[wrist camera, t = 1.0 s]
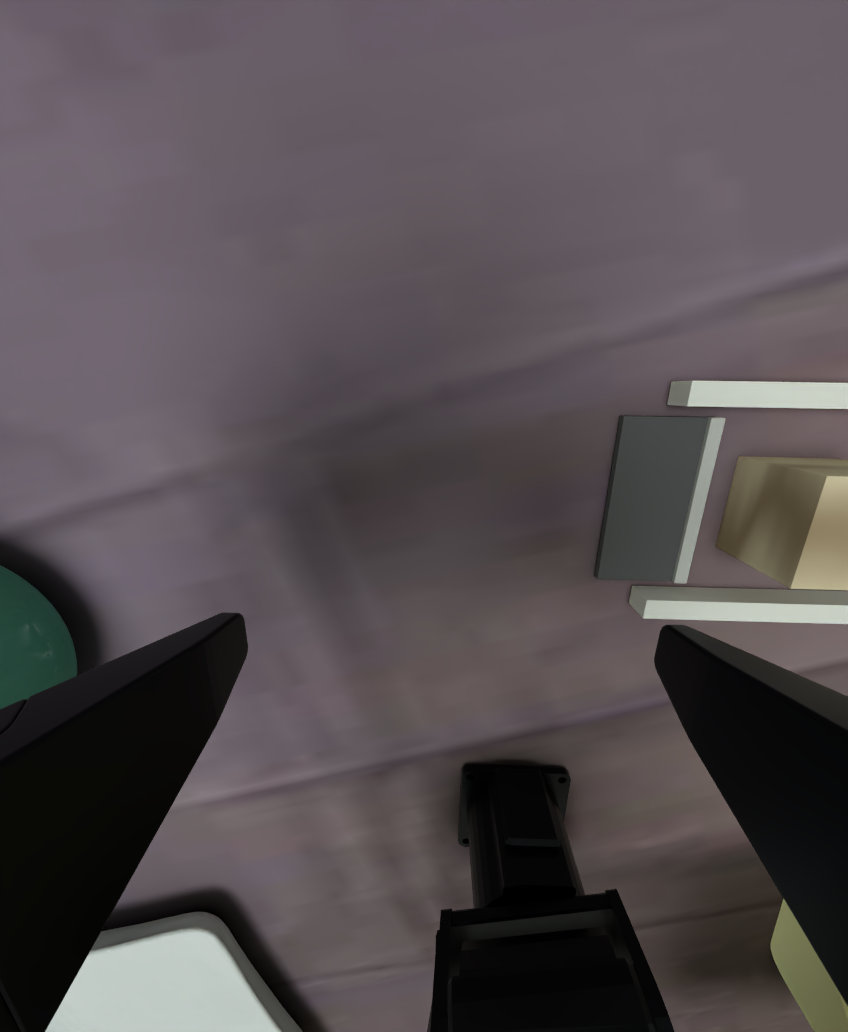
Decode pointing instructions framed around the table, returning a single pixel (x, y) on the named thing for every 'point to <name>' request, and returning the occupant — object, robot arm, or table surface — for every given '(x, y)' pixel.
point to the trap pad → (657, 496)
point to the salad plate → (170, 983)
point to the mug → (30, 641)
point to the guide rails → (741, 600)
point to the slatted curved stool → (807, 976)
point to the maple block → (790, 520)
